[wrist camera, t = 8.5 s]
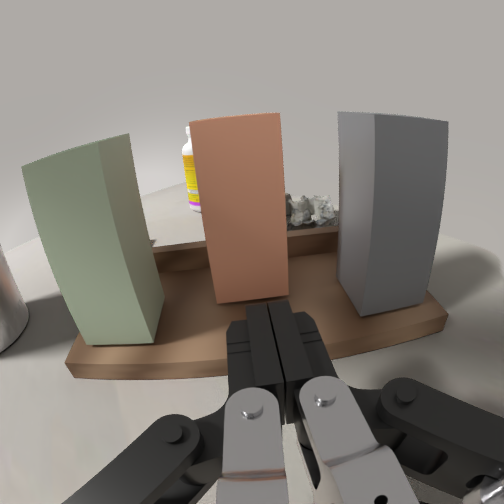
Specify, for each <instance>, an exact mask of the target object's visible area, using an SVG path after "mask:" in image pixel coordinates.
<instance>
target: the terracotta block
mask: <svg viewBox="0 0 504 504" xmlns="http://www.w3.org/2000/svg"><path fill="white" fill-rule="evenodd" d="M189 127H190V135H191V143H192V151H193V158H194V166H195V173H196V180H197V187H198V194H199V200H200V207H201V214H202V220H203V226H204V232H205V239H206V245H207V250H208V256H209V262H210V268H211V274H212V279H213V285H214V290H215V295H216V301H217V304H219V303H228V302H237V301H245V300H254V299H262V298H269V297H277V296H284V295H289V285H288V252H287V226H286V204H285V186H284V168H283V152H282V138H281V123H280V113H259V114H247V115H236V116H226V117H218V118H210V119H202V120H196V121H192V122H189Z"/></svg>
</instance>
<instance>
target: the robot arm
mask: <svg viewBox="0 0 504 504" xmlns="http://www.w3.org/2000/svg"><path fill="white" fill-rule="evenodd" d="M245 309H246V317H247V319H246V320H238V321H232V322H231V323H230V325H229V327H228V329H227V331H226V344H227V365H228V384H229V395H228V398H227V400H226V402H225V404H224V405H223V406H222V407H221V408H220V409H219V410H218V411H216V412H214V413H213V414H210V415H208V416H205V417H202V418H199V419H196V420H192V419H190V418H189V417H187V416H184V415H179V414H171V415H166V416H163V417H161V418H159V419H158V420H156V421H155V422H154V423H153V424H152V425H151V426H150V427H149V428H148V429H146V430H145V431H144V432H143V433H142V434H141V435H140V436H139V437H138V438H137V439H136V440H135V441H134V442H132V443H131V444H130V445H129V446H128V447H127V448H126V449H125V450H124V451H123V452H121V453H120V454H119V455H118V456H117V457H116V458H115V459H114V460H113V461H111V462H110V463H109V464H108V465H107V466H106V467H105V468H103V469H102V470H101V471H100V472H99V473H98V474H97V475H95V476H94V477H93V478H92V479H91V480H90V481H88V482H87V483H86V484H85V485H84V486H82V487H81V488H80V489H79V490H78V491H76V492H75V493H74V494H73V495H72V496H70V497H69V498H68V499H67V500H66V501H64V502H63V503H62V504H196V503H197V502H198V501H199V500H200V499H201V498H202V497H203V496H204V494H205V493H206V492H207V491H208V490H209V489H210V488H211V487H212V485H213V484H214V483H215V482H216V481H217V480H218V483H217V493H216V504H289V499H288V488H287V479H286V473H285V465H284V455H283V444H282V425H285V418H286V423H287V424H291V423H294V424H295V428H296V432H297V446H298V449H299V452H300V455H301V458H302V461H303V464H304V467H305V470H306V473H307V476H308V479H309V482H310V485H311V489H312V492H313V499H314V504H428V503H424V502H421V501H418V500H417V498H416V496H415V494H414V492H413V490H412V488H411V486H410V484H409V482H408V480H407V478H406V476H405V474H406V475H408V476H410V477H412V478H414V479H416V480H418V481H421V482H423V483H425V484H427V485H430V486H432V487H434V488H436V489H439V490H441V491H444V492H446V493H448V494H451V495H454V496H456V497H459V498H461V499H463V502H462V504H504V418H502V417H500V416H497V415H495V414H492V413H490V412H487V411H485V410H482V409H480V408H478V407H475V406H473V405H470V404H468V403H466V402H463V401H461V400H458V399H456V398H454V397H452V396H449V395H447V394H445V393H442V392H440V391H438V390H436V389H433V388H431V387H429V386H427V385H424V384H422V383H420V382H418V381H416V380H413V379H410V378H396V379H393V380H391V381H389V382H388V383H387V384H386V385H385V386H384V387H383V389H382V390H366V389H356V388H353V387H350V386H348V385H347V384H346V383H345V382H343V381H342V380H340V379H339V378H338V376H337V374H336V372H335V369H334V367H333V364H332V362H331V359H330V357H329V354H328V352H327V350H326V347H325V345H324V342H323V341H322V337H321V335H320V332H319V330H318V328H317V325H316V323H315V320H314V319H313V318H312V317H311V316H310V315H308V314H307V313H306V312H305V311H303V312H296V313H293V312H292V309H291V306H290V303H289V301H288V299H286V300H278V301H271V302H267V306H266V302H264V303H257V304H249V305H245ZM28 319H29V311H28V308H27V306H26V304H25V302H24V300H23V298H22V296H21V294H20V292H19V289H18V287H17V285H16V283H15V281H14V278H13V276H12V273H11V271H10V268H9V266H8V264H7V261H6V258H5V256H4V253H3V251H2V248H1V245H0V352H1V351H3V350H4V349H6V348H7V347H8V346H9V345H11V344H12V343H13V342H14V341H15V340H16V339H17V338H18V336H19V335H20V334H21V332H22V331H23V330H24V328H25V326H26V324H27V322H28Z"/></svg>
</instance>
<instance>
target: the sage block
mask: <svg viewBox="0 0 504 504" xmlns="http://www.w3.org/2000/svg"><path fill="white" fill-rule="evenodd" d="M22 172H23V177H24V181H25V186H26V190H27V194H28V198H29V201H30V205H31V209H32V212H33V216H34V219H35V222H36V225H37V229H38V232H39V235H40V238H41V241H42V244H43V247H44V250H45V253H46V256H47V258H48V261H49V264H50V266H51V269H52V271H53V274H54V276H55V279H56V281H57V284H58V286H59V288H60V291H61V293H62V295H63V298H64V300H65V302H66V304H67V306H68V309H69V311H70V313H71V315H72V317H73V319H74V321H75V323H76V325H77V327H78V329H79V331H80V333H81V335H82V337H83V339H84V341H85V343H86V344H87V345H110V344H141V343H154V339H155V335H156V331H157V326H158V322H159V318H160V314H161V310H162V306H163V302H164V298H165V296H164V292H163V289H162V285H161V281H160V278H159V274H158V270H157V267H156V263H155V259H154V255H153V251H152V247H151V243H150V239H149V235H148V231H147V226H146V222H145V217H144V213H143V208H142V203H141V199H140V194H139V189H138V184H137V178H136V173H135V167H134V162H133V156H132V150H131V143H130V137H129V134H124V135H119V136H115V137H112V138H107V139H103V140H100V141H96V142H92V143H89V144H85V145H82V146H78V147H75V148H71V149H68V150H65V151H62V152H59V153H56V154H53V155H51V156H48V157H45V158H42V159H40V160H37V161H34V162H32V163H29V164H27V165H24V166H22Z"/></svg>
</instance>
